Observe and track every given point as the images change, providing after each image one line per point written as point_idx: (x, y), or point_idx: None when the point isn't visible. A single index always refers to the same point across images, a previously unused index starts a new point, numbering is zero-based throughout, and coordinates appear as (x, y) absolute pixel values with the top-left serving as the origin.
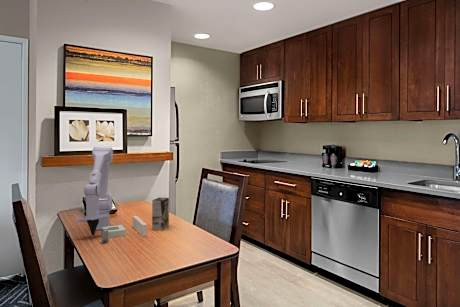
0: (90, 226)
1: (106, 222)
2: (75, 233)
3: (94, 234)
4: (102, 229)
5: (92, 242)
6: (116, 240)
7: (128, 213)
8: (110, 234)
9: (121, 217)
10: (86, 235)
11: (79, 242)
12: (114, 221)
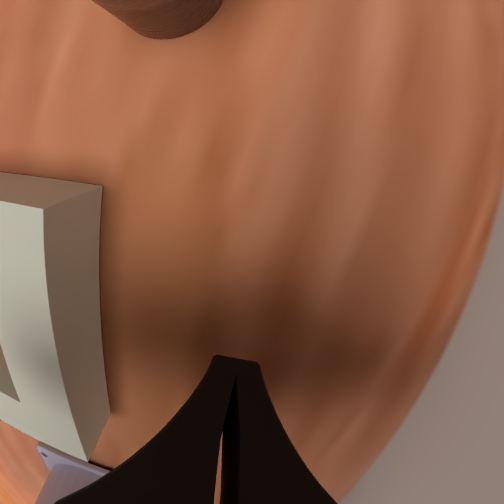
0: (303, 493)
1: (53, 497)
2: None
3: (216, 358)
4: (79, 415)
5: (339, 106)
6: (33, 18)
7: (9, 499)
8: (8, 186)
9: (23, 497)
10: None
11: (464, 245)
12: None
